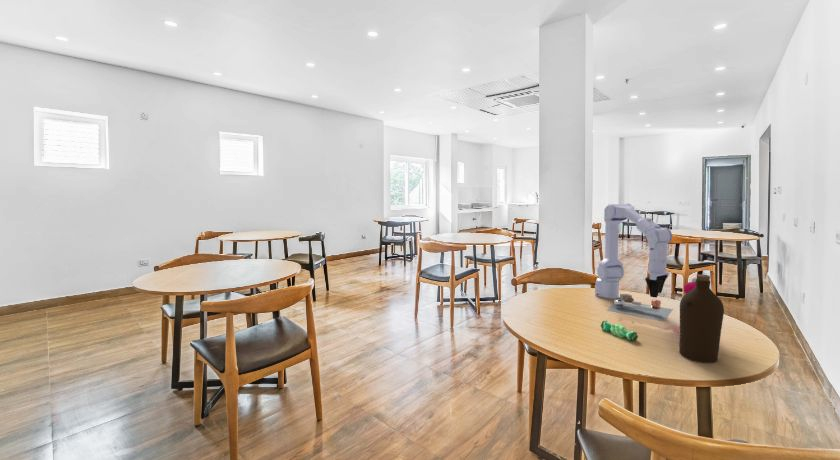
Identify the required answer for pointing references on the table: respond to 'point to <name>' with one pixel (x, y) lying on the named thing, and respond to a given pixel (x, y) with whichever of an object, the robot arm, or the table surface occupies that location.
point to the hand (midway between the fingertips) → (655, 294)
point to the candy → (619, 330)
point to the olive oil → (700, 322)
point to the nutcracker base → (641, 310)
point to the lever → (639, 305)
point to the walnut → (629, 299)
